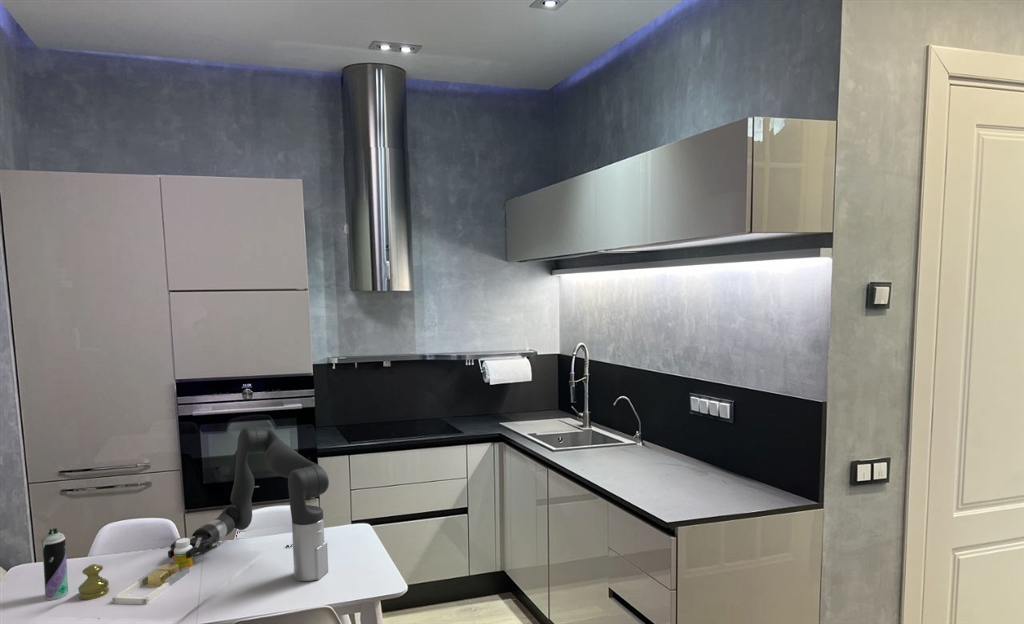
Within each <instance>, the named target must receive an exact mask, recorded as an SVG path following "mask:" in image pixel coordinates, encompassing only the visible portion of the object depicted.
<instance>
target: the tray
mask: <svg viewBox="0 0 1024 624" xmlns="http://www.w3.org/2000/svg"><path fill="white" fill-rule="evenodd" d="M139 588H142V587H141V586H140V582H138V581H136V582H134V583H133V584H131V585H130V586H129V587H127V588H125V589H123V590H122V591H120V592H119V593H117V594H116V595H114V596H113V597H111V598H112V604H122V605H123V604H124V605H125V604H127V605H128V604H129V605H148V604H149V603H150V602H152V601H153V600H154V599H156V598H157V597H159V596H160V595H161V594H163V593H164V592H166V591H167V590H169V589H170V587H169V583H165V584H163V585H162V586H160V587H156V589H155V590H153V591H152V592H150V593H149V594H147V595H146V596H129V595H131V594H132V593H134V592H135V591H136V590H138V589H139Z"/></svg>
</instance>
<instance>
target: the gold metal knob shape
mask: <svg viewBox="0 0 1024 624" xmlns="http://www.w3.org/2000/svg"><path fill="white" fill-rule="evenodd" d="M103 569H104V566H103V565H101V564H95V563H93V564H89V565H88V566H86V567H85V568H84V569H83V570H82V574H83V575H86V579H85V580H84V581H83V582H82V583H81V584H80V585H79V586H78V588H77V589H78V590H77V591H78V593H79V594H78V599H79V600H80V601H92V600H95V599H99V598H101V597H104V596H105V595H107V594H108V593H109V590H110V588H109V580H108V579H107V578H103V576H100V572H101V571H103Z"/></svg>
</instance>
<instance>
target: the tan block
mask: <svg viewBox="0 0 1024 624" xmlns="http://www.w3.org/2000/svg"><path fill="white" fill-rule="evenodd" d="M167 578H169V571H167V570H156V571H155V572H153V573H152V574H150V575H149V576H148V586H162V585H163V584H164V580H166V579H167Z"/></svg>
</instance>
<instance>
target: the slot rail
mask: <svg viewBox="0 0 1024 624" xmlns="http://www.w3.org/2000/svg"><path fill="white" fill-rule="evenodd" d="M164 565H165V564H164ZM164 565H158V567H155V569H153V570H151V571H150V572H149V573H148V572H147V574H145V575H144V576H142V577H141V578H139V579H138V580H137V582H140V586H141V587H140V588H159V587H160V586H148V576H149V575H150V574H152V573H153V572H155V571H156V570H158V569H159V568H161V567H162V566H164ZM189 574H190V568H189V566H185V567H183V568H182V569H180V570H179V571H177V572H176V573H175V574H173V575H172V576H170V577H169V578H167V579H166V580H164V584H165V583H169V588H170V587H171V586H173V585H174V584H176V583H177V582H179V581H180V580H181V579H183V578H184V577H186V575H189Z"/></svg>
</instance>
